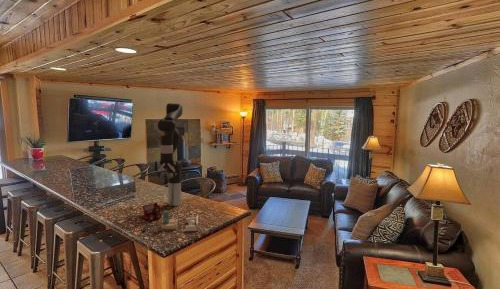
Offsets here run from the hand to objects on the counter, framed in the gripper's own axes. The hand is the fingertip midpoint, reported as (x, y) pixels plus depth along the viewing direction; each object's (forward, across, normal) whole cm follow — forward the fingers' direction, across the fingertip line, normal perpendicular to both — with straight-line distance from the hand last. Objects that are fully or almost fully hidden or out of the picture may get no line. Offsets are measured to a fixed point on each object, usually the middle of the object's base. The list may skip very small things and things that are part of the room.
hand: (166, 177), depth 167 cm
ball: (+28, -16, +11) cm, 34 cm away
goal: (+28, -16, +11) cm, 34 cm away
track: (+28, 0, +11) cm, 30 cm away
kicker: (+28, -3, +11) cm, 30 cm away
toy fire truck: (+28, +9, -3) cm, 30 cm away
